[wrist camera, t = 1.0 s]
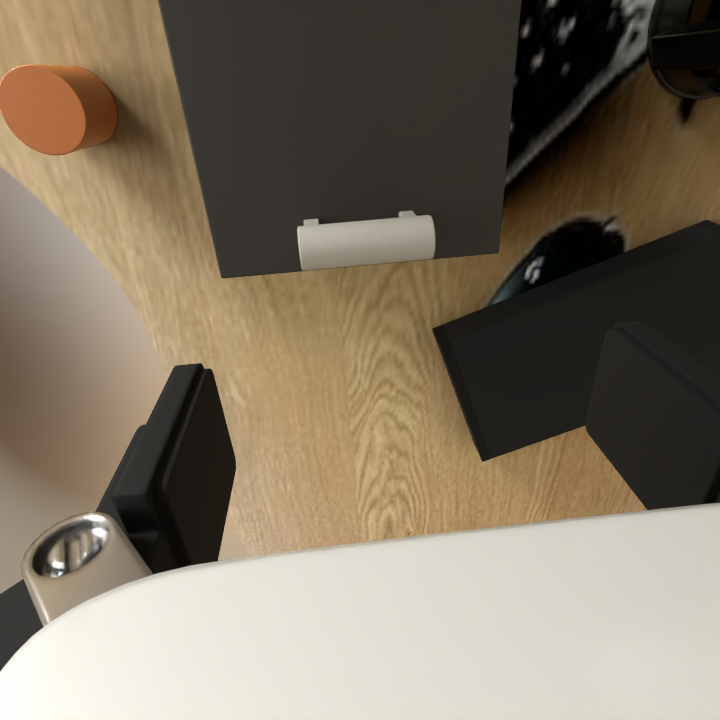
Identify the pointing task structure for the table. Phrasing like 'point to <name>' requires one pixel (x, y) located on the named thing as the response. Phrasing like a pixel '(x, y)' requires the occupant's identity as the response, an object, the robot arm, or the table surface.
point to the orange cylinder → (57, 108)
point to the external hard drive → (577, 337)
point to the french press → (683, 50)
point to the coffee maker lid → (346, 127)
